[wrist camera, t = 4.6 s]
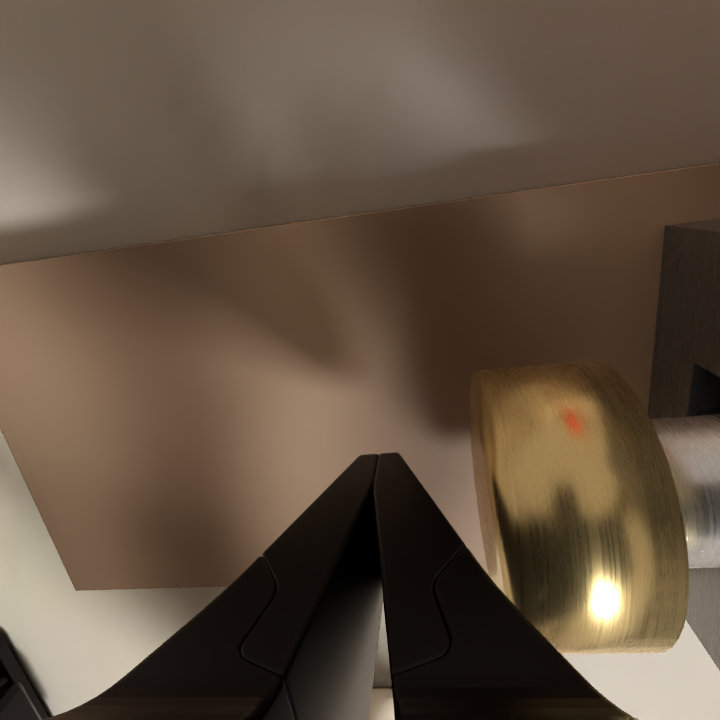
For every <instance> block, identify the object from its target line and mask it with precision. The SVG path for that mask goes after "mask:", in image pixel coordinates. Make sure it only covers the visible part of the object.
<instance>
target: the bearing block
mask: <svg viewBox="0 0 720 720" xmlns="http://www.w3.org/2000/svg"><path fill="white" fill-rule="evenodd" d="M714 414H720V218H718V219H710V220H702V221H694V222H687V223H679V224H671V225H665V231H664V242H663V252H662V263H661V274H660V285H659V295H658V306H657V317H656V328H655V338H654V349H653V360H652V371H651V382H650V392H649V403H648V416H649V418H650V419H660V418H674V417H687V416H701V415H714ZM685 619H686V621H687V622H688V624H689V625H690V627H691V628H692V630H693V631H694V633H695V634H696V636H697V637H698V639H699V640H700V642H701V643H702V645H703V646H704V648H705V649H706V651H707V652H708V654H709V655H710V657H711V658H712V660H713V661H714V663H715V664H716V666H717V667H718V669H719V670H720V567H711V568H689V598H688V609H687V614H686V618H685Z"/></svg>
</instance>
